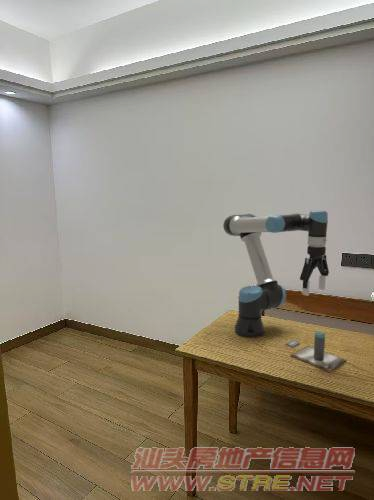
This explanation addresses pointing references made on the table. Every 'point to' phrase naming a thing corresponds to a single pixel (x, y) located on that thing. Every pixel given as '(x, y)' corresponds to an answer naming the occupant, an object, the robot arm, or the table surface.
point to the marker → (319, 347)
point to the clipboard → (308, 357)
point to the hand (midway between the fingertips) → (313, 292)
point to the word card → (292, 343)
